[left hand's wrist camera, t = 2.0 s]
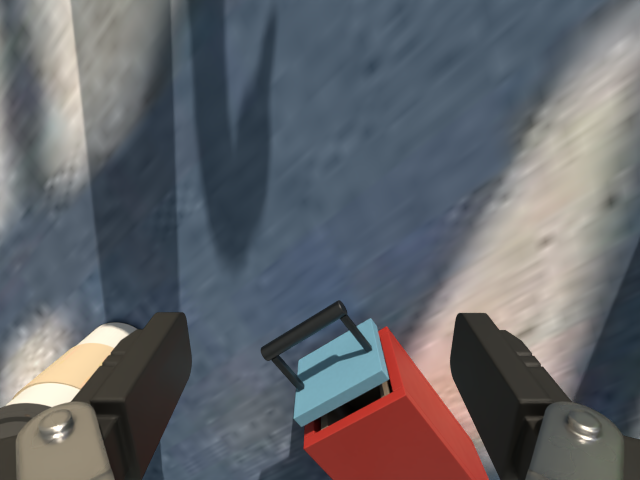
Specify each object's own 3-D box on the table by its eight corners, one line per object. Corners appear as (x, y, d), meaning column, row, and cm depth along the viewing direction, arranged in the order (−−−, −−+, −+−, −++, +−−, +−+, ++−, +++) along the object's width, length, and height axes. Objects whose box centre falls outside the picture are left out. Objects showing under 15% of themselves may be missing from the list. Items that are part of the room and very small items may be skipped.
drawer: (265, 321, 39) (252, 374, 32) (338, 275, 38) (342, 320, 30) (387, 462, 46) (399, 533, 38) (455, 429, 44) (482, 497, 37)
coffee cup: (68, 365, 42) (-58, 499, 28) (89, 300, 40) (-40, 412, 25) (148, 394, 44) (66, 536, 30) (174, 333, 41) (96, 458, 27)
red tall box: (307, 371, 43) (303, 449, 33) (386, 325, 41) (405, 394, 31) (397, 475, 48) (416, 567, 39) (471, 440, 46) (510, 528, 37)
